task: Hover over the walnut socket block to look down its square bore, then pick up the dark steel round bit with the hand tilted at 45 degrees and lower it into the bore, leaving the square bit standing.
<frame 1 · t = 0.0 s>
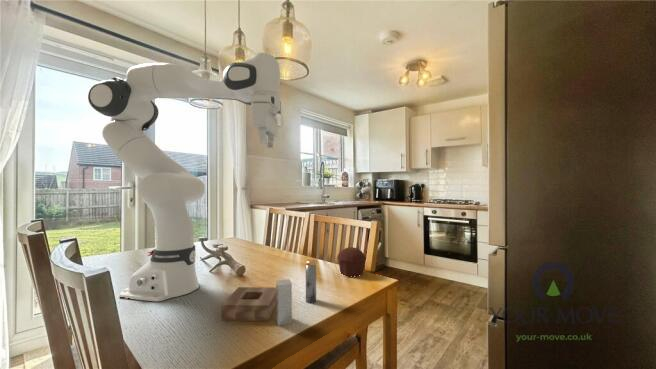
hand: (266, 145, 88), 48 cm above the table, tool pointing down, fingers open, 8 cm apart
round bit: (311, 301, 80), on the table
square bit: (283, 321, 68), on the table
socket block: (252, 309, 74), on the table
muffin: (351, 274, 104), on the table
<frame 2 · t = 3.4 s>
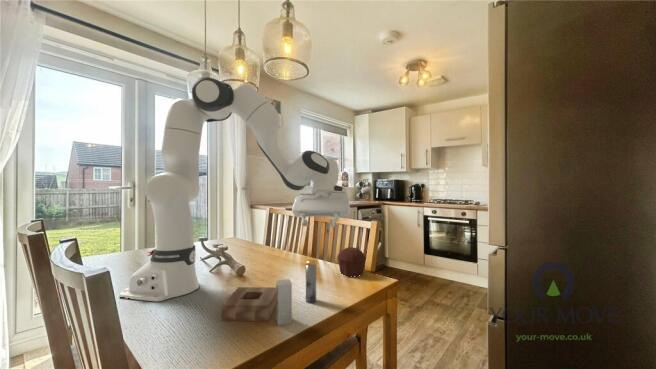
hand: (317, 225, 87), 22 cm above the table, tool tilted 40°, fingers open, 8 cm apart
nothing on the table moved.
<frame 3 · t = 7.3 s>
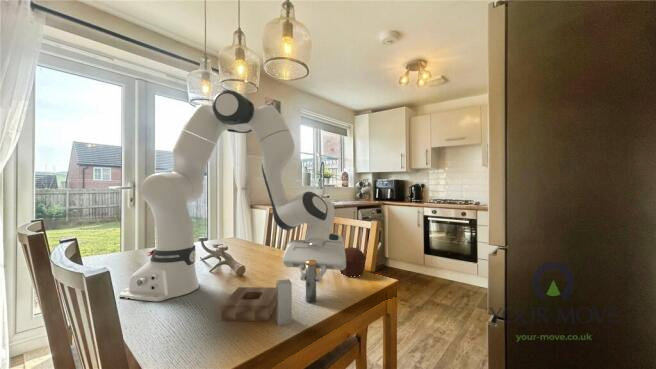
hand: (310, 280, 79), 6 cm above the table, tool tilted 45°, fingers closed on round bit, 3 cm apart
round bit: (311, 300, 80), on the table, touching gripper
everything else where it was.
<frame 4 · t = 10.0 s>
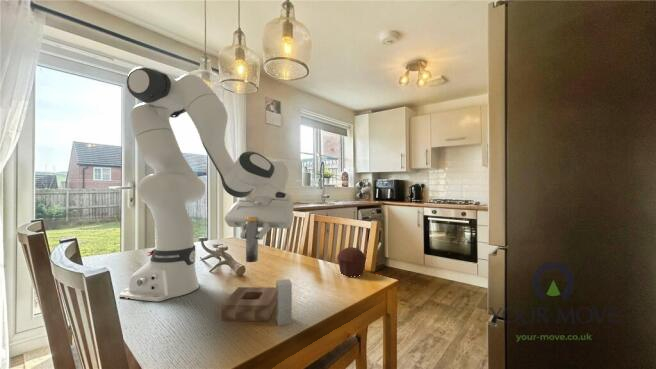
hand: (250, 238, 73), 20 cm above the table, tool tilted 45°, fingers closed on round bit, 3 cm apart
round bit: (251, 260, 74), point 14 cm above the table, touching gripper
everything else where it was.
when the fingers open (8 cm above the table, at t = 12.9 s): round bit drops 2 cm, resting in socket block.
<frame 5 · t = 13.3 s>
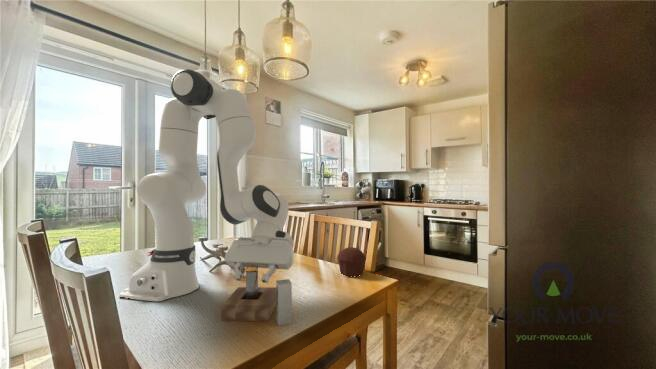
hand: (250, 280, 73), 8 cm above the table, tool tilted 45°, fingers open, 7 cm apart
round bit: (251, 310, 74), resting in socket block
everything else where it was.
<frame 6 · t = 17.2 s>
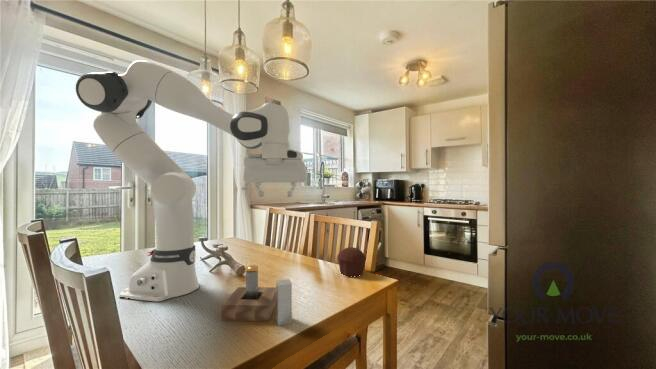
hand: (275, 196, 86), 31 cm above the table, tool pointing down, fingers open, 8 cm apart
nothing on the table moved.
at the end: round bit 0.0 cm off-centre on the socket block, point 0.0 cm above the socket block's base; round bit tilted 0°; the gripper is holding nothing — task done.
